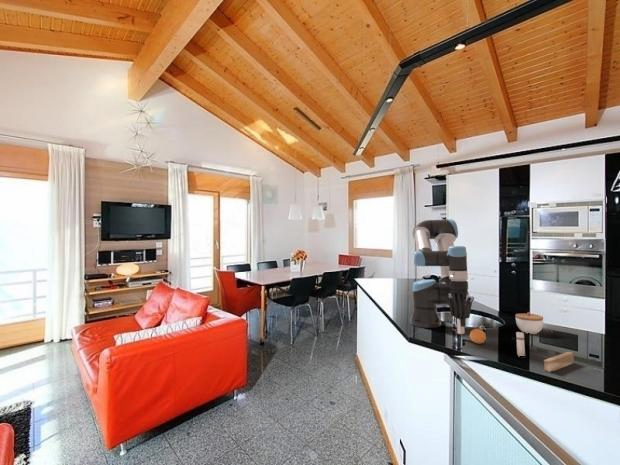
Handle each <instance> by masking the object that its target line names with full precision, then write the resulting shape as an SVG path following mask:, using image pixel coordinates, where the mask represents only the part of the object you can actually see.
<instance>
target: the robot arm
mask: <svg viewBox="0 0 620 465" xmlns="http://www.w3.org/2000/svg"><path fill="white" fill-rule="evenodd" d="M458 237H459V229H458V225H457V222H456V221H455V220H454V219H451V218H450V219H448V218H445V219H426V220H423V221H421V222H419V223H418V224H417V225H415V226H414V228H413V230H412V238H413V239H414V240H415V247H416V248H415V249H416V251H414V252H413V263H414V265H415V266H416V267H439V268H440V275H441V277H440V278H439V279H438V282H437V281H436V280H435V279H421V280H418V281H414V282H413V283H412V298H413V299H412V301H413V302H412V305H413V306H412V308H413V309H412V313H411V316H410V320H409V321H410V325H412V326H414V327H418V328H424V329H434V328H435V329H437V328H440V327H441V326H442V320H441V318H440V315H439V312H438V311H437V310H438V308H437V307H438V306H449V310H450V315H451V317H454V318H455V325H456V328H457V329H456V331H457V334H458V335H463V334H466V333H465V327H466V319H470V316H471V311H472V305H473V301H474V300H475V297H474V296H471V295H470V294H469V292H468V291H469V290H468V289H469V281H468V280H469V276H468V273H469V272H468V262H467V261H468V258H467V257H468V256H467V255H468V252H467V247H466V246H465V245H464V246H462V245H455V243H454V242H455V241H456V240H457V238H458ZM430 240H434V242H435V243H436V244H437V249H438V250H433V248H432V244H431V241H430Z"/></svg>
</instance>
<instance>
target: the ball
mask: <svg viewBox="0 0 620 465" xmlns="http://www.w3.org/2000/svg"><path fill="white" fill-rule="evenodd" d="M469 338H470V340H471V341H472V342H473V343H475V344H480V345H481V344H483V343H484V342H486V338H487V335H486V333H485V331H483V330H482V329H480V328H474V329H472V330H471V331H470V333H469Z"/></svg>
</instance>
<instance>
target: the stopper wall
mask: <svg viewBox="0 0 620 465" xmlns="http://www.w3.org/2000/svg"><path fill="white" fill-rule="evenodd" d="M574 360H575V358H574V352H571V351H566V352H563V353H560V354H557V355H554V356H552V357H549V358H546V359H543V364H544V365H543V366H544V368H543V369H544V370H546V371H549V372H550V373H552V372H551V371H553V372H555V371H558V370H560V369H562V368H565V367H567V366H571V365H572V364H574ZM546 371H545V372H546ZM549 372H548V373H549Z"/></svg>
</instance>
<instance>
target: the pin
mask: <svg viewBox="0 0 620 465" xmlns="http://www.w3.org/2000/svg"><path fill="white" fill-rule="evenodd" d="M515 335H516V337H515V338H516V354H517V355H518V356H517V357H520V356H525V357H526V348H525V333H524V332H522V331H516V332H515Z"/></svg>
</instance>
